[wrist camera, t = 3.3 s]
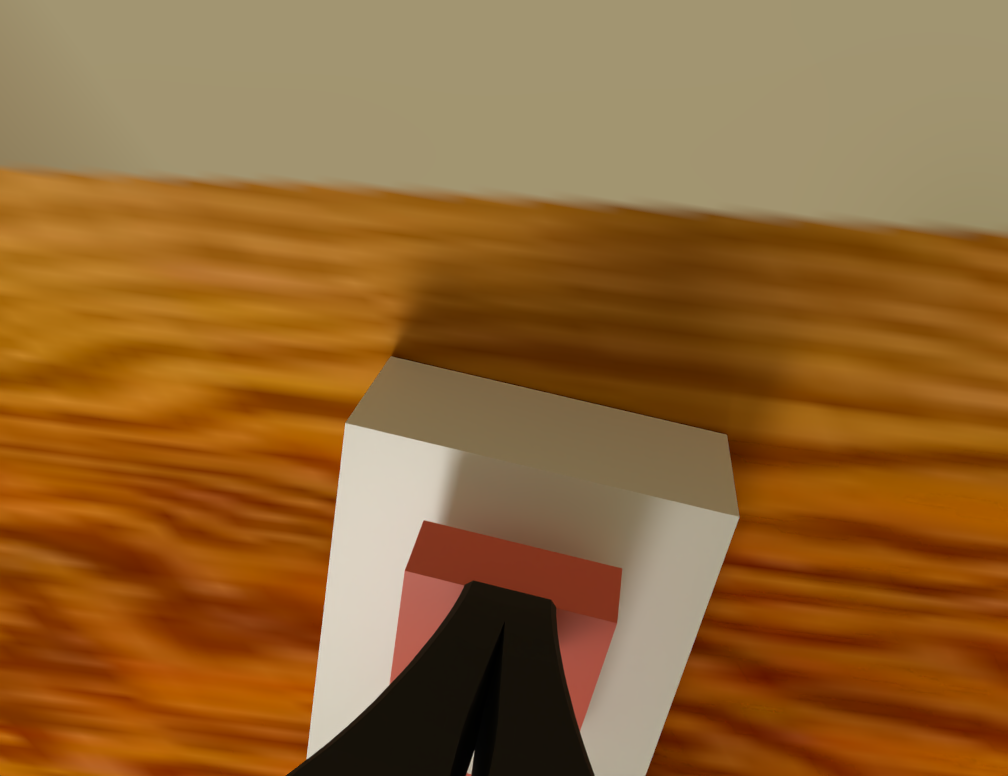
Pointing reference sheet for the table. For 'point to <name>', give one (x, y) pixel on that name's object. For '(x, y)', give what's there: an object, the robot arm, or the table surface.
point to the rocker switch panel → (526, 532)
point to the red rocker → (562, 578)
